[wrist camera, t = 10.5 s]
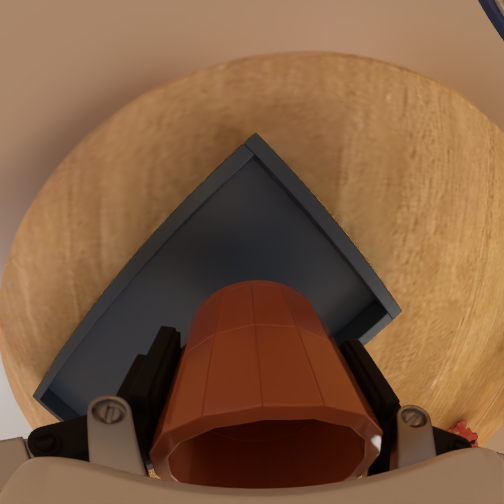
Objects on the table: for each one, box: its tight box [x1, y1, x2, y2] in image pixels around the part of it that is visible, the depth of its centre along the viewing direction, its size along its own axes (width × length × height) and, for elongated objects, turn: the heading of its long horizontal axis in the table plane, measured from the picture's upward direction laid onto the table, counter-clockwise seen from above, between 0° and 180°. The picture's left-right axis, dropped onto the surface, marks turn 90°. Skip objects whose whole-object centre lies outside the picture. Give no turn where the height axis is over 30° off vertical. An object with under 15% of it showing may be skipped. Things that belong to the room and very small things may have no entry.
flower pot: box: [149, 280, 383, 489], centre depth 9 cm, size 6×6×7 cm
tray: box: [33, 133, 402, 470], centre depth 17 cm, size 30×14×3 cm, turn 133°
